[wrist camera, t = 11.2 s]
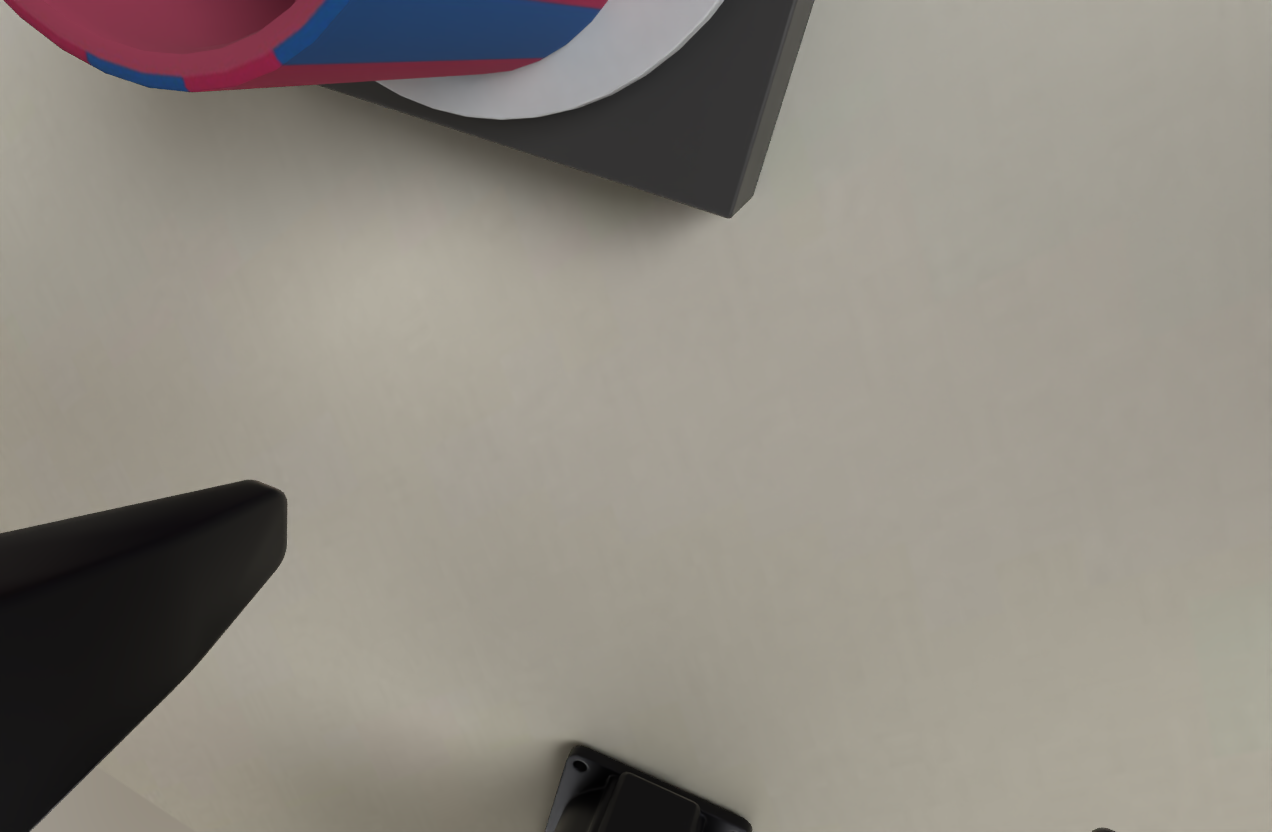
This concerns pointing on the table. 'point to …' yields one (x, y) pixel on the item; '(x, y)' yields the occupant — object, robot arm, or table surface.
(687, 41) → the scale
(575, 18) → the cup
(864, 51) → the table surface
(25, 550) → the robot arm
